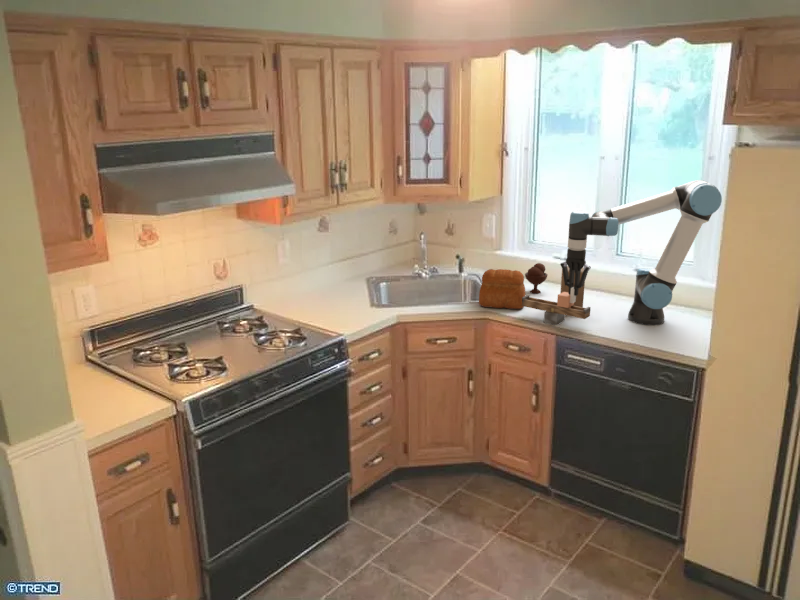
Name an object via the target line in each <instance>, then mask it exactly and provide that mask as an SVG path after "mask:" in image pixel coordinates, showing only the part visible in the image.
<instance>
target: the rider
mask: <svg viewBox="0 0 800 600" xmlns="http://www.w3.org/2000/svg"><path fill="white" fill-rule="evenodd" d="M556 299H557V301H556V302H557V306H560V307H565V308H571V306H572V305H574V303H570V295H569V293H568V292H562V293H559V294H557V298H556Z"/></svg>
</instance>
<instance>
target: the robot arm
mask: <svg viewBox="0 0 800 600" xmlns="http://www.w3.org/2000/svg"><path fill="white" fill-rule="evenodd" d="M722 199H723V198H722V194H721V191H720V190H719V189H718V188H717V186H715V185H713V184H712V183H709V182H708V181H705V180H700V179H698V180H697V179H696V180H693V181H689V182H686V183H684V184H680V185H678V186H675V187H672V189H671V190H669V191H666V192H663V193H662V192H661V193H660V194H655V195H653V196H649V197H647V198H643V199H639V200H635V201H633V202H629V203H626V204H623V205H619V206H615V207H613V208H610V209H606V210H597V211H595V212H593V213H592V216H590V213H589V212H588V211H583V210H573V211H572V212H571V213H570V214H569V215H570V216H569V222H568V240H567V253H566V259H565V261H563V262H561V263H560V264H559V265H560V267H561V271H562V270H563V276H564V283H565V285H567V286H568V287H569V295H570V303H574V302H576V296H577V295H578V290H579V288H581V287H583V285H584V282H585V283H586V278H587V276H588V273H589V271H590V270H591V266H590V265H588V264H587V262H586V257H587V255H586V252H587V250H586V248H587V242H588V241H587V239H588V236H602V237H603V236H604V237H610V236H611V237H612V236H614V237H615V236H617V235H618V232H619V225H622V224H625V223H629V222H632V221H636V220H640V219H643V218H646V217H647V218H648V217H650V216H654V215H658V214H660V213H664V212H668V211H671V210H674V209H676V210H679V211H680V215H681V216H680V218H679V220H678V222H677V224H676V226H675V228H674V230H673V232H672V234H671V236H670V238H669V240H668V243H666V245H665V247H664V248H665V249H663V252H662V254H661V255H660V256H661V257H659V260H658V262H657V264H656V266H655V268H639V269H637V270H636V274H635V287H634V297H633V302H632V305H631V307H630V308H629V311H628V314H627V315H628V316H627V319H628V320H629V321H630V322H633V323H636V324H640V325H646V326H658V325H661V324H663V323H664V322H665V312H664V308H666V307H667V306H668V305H669V304H670V303H671V302H672V299H673V291H674V289H675V287H676V285H677V283H678V282H677V278H676V277H677V275H678V273H679V271H680V268H681V267H682V265H683V263H684V260H685V258H686V257H687V255H688V253H689V252H690V249H691V248H692V245H693V243H694V242H695V239H696V237H697V235H698V234H699V232H700V230H701V228H702V226H703V224H706V223H707V222H710V219H711V217H712V215H713V214H714V213H716V212H717V211H718V210H719V209H720V207H721V205H722ZM567 266H568V267H569V272H570V273H569V275H568V268H567ZM582 268H584V271H583V274H582V277H581V280H580V272H581V269H582ZM574 273H575V284H574ZM573 286H574V287H573Z"/></svg>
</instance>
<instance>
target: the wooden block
mask: <svg viewBox="0 0 800 600" xmlns="http://www.w3.org/2000/svg"><path fill="white" fill-rule="evenodd" d="M567 268H568V275H569V273H570V272H569V267H568V265H567ZM583 271H584V267H583V268H582V269H581V272H580V280H581V277H582V274H583ZM560 278H561V279H560V280H561V281H560V293H562V292H568V293H569V287H568V286H567V285H565V283H564V276H563V270H562V269H561V277H560ZM585 283H586V281H585V282H584V285H583V287H581V288H579V290H578V295H577V296H576V302H574V305H573V306H578V307H583V308H584V296H585V295H584V294H585ZM574 284H575V273H574ZM573 287H574V286H573ZM560 293H559V294H560Z"/></svg>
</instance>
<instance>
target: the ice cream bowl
mask: <svg viewBox="0 0 800 600" xmlns="http://www.w3.org/2000/svg"><path fill="white" fill-rule="evenodd" d="M524 277H525V279H526V281H528V282H529V283H530V284H531V285H533V288H532V289H531V290H529V293H530V294H536V295H538V294H541V290H539V289H538V285H541V284H542V283H544V282H545V281H546V280H547V279H548V273H546V266H545V265H544V264H543V263H540V262H538V263H535V264H534V265H533V266H531V267H530V268H529V269H528V270H527V272H525V273H524Z"/></svg>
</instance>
